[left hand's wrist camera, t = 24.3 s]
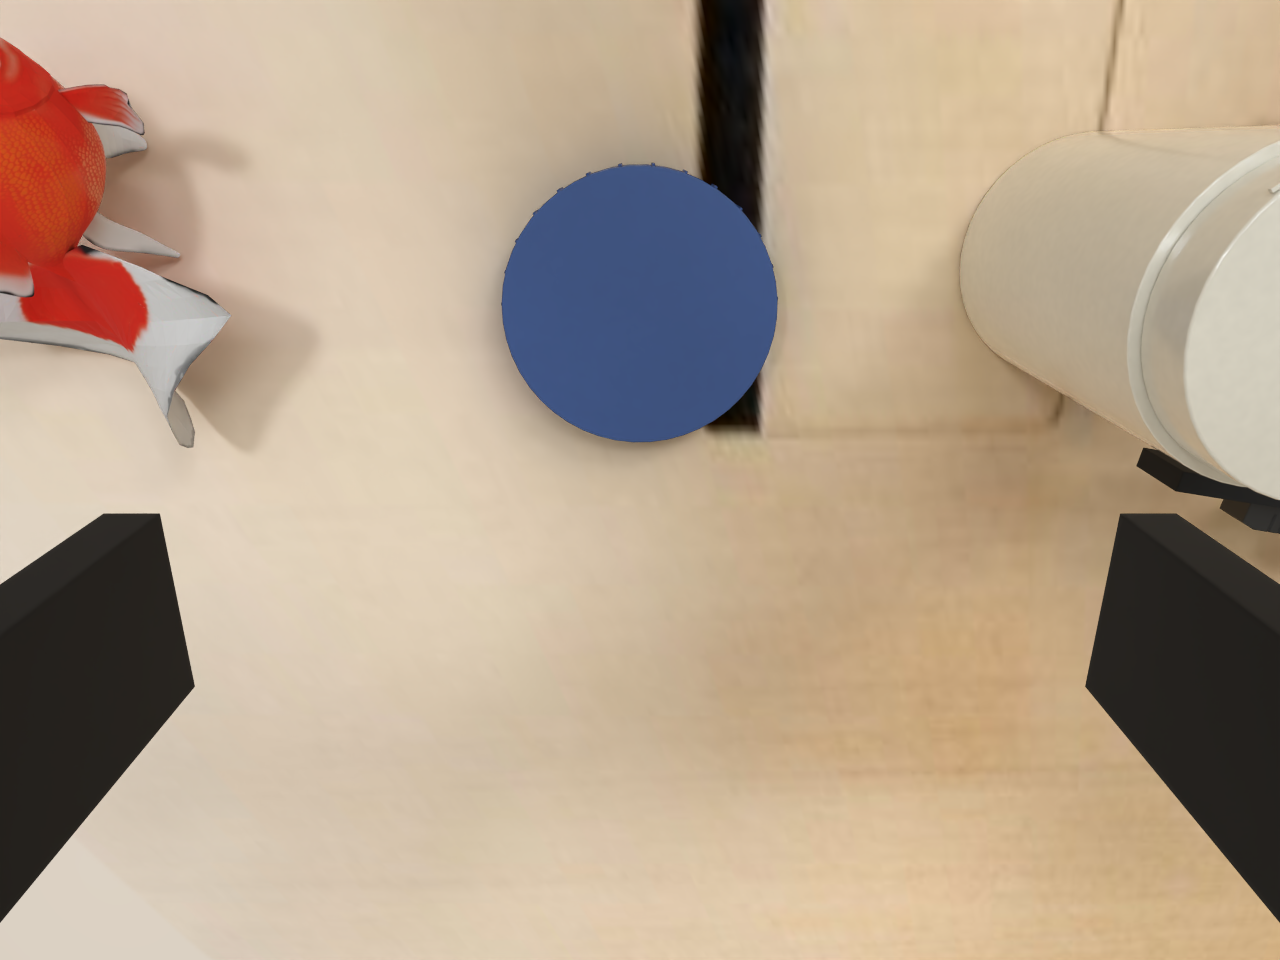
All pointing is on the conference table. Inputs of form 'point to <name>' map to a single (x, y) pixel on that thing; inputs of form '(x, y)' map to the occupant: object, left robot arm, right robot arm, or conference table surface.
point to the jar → (1144, 287)
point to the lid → (639, 303)
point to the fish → (67, 209)
